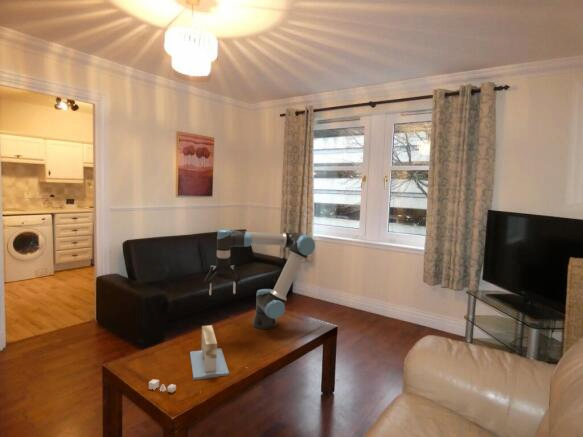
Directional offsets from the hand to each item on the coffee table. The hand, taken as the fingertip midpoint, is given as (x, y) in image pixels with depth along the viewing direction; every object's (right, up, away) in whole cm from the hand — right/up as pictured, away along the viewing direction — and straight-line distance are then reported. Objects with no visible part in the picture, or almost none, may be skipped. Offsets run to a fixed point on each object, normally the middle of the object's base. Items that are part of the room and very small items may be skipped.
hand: (222, 293), depth 198 cm
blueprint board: (-2, -29, -27) cm, 39 cm away
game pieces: (-16, -31, -50) cm, 60 cm away
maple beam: (-1, -21, -27) cm, 34 cm away
